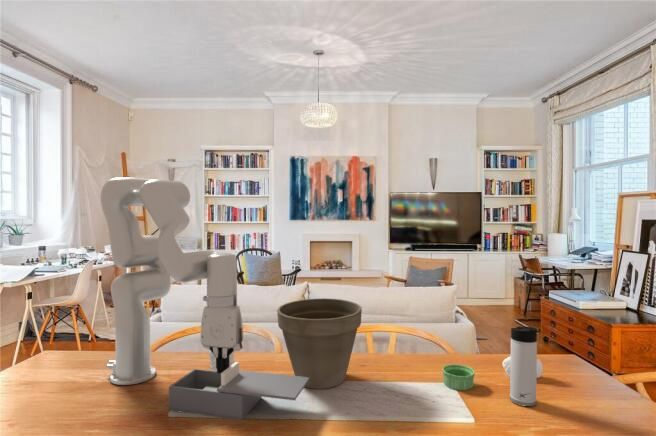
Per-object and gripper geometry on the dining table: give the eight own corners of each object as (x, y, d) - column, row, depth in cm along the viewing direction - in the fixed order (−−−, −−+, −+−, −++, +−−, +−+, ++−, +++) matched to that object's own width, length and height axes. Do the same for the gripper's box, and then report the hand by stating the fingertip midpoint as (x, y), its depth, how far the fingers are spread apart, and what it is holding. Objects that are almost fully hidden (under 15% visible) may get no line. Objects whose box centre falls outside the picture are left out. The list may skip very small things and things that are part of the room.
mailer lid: (217, 391, 101) (216, 376, 101) (239, 372, 113) (238, 359, 113) (294, 400, 97) (294, 385, 97) (309, 379, 108) (309, 366, 108)
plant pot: (281, 402, 109) (281, 320, 109) (274, 366, 133) (274, 299, 133) (372, 393, 114) (372, 315, 114) (349, 361, 138) (349, 296, 138)
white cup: (228, 378, 125) (227, 345, 124) (203, 375, 126) (203, 343, 126) (238, 368, 132) (238, 336, 132) (216, 366, 134) (215, 335, 134)
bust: (540, 383, 126) (529, 346, 133) (551, 376, 120) (539, 338, 127) (501, 383, 126) (492, 346, 133) (510, 376, 120) (500, 338, 127)
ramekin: (439, 388, 118) (439, 373, 118) (445, 376, 126) (445, 362, 126) (472, 394, 114) (472, 378, 114) (476, 381, 122) (476, 367, 122)
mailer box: (168, 410, 105) (168, 386, 105) (195, 389, 116) (194, 368, 116) (241, 419, 100) (241, 395, 100) (261, 397, 112) (261, 375, 111)
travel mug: (526, 409, 105) (527, 331, 105) (504, 399, 111) (505, 325, 110) (542, 404, 108) (543, 328, 107) (520, 394, 114) (521, 322, 113)
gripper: (188, 302, 105) (189, 374, 106) (242, 306, 102) (243, 380, 102) (203, 296, 112) (204, 363, 113) (255, 299, 109) (255, 368, 109)
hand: (222, 371), depth 107 cm, fingers closed
